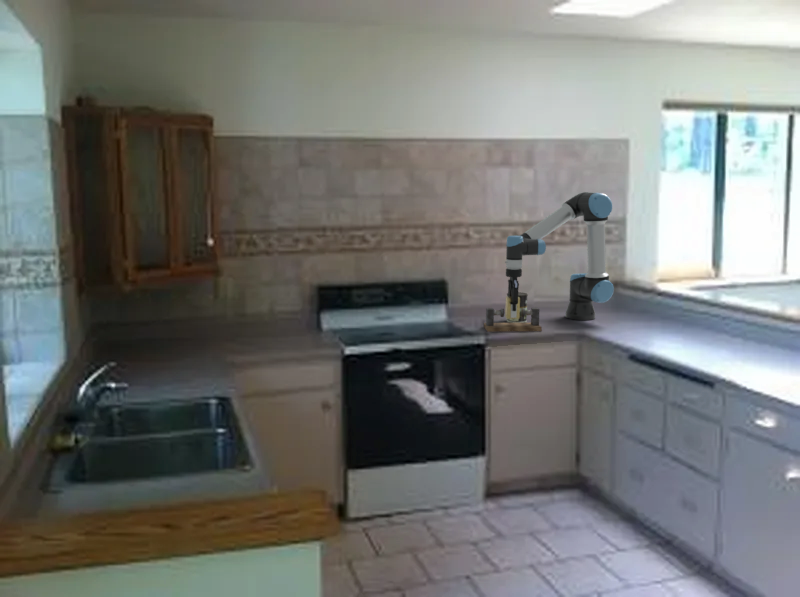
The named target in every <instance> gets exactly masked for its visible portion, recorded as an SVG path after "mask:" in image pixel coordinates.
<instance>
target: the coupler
mask: <svg viewBox="0 0 800 597" xmlns="http://www.w3.org/2000/svg"><path fill="white" fill-rule="evenodd" d="M510 303H512V298H511V297H507V296H505V309H504V317H505V319H506V320H507V319H519V316H520V298H519V297H518V304H517V315H516V318H511V304H510Z"/></svg>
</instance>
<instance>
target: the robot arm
mask: <svg viewBox="0 0 800 597" xmlns="http://www.w3.org/2000/svg"><path fill="white" fill-rule="evenodd" d="M612 211H613V202H612V199H611V198H610V197H609V195H607V194H605V193H600V192H585V191H584V192H580V193H578V194H575V195H574V196H572V197H571V198H569V199H567V200H566V201H565V202H563V203H562V204H561V207H560V208H558V209H557V210H556V211H554V212H552V213H551V214H549V215H548V216H547V217H545V218H544V219H542V220H540V221H539V222H538V223H536V224H535V225H533V226H531V227H530V228H529V229H528V230H526V231H525V232H523V233H521V234H520V235H508V236H507V239H506V251H505V252H506V254H505V255H506V260H505V261H504V263H505V264H506V265H505V267H506V269H505V277H508V278H509V279H508V280H507V282H508V287H507V289H508V290H507V293H508V297H511V298H512V303H510V304H511V318H516V315H517V304H518V292H519V286H520V284H519V280H518V278H520V277H522V272H523V270H522V267H523V256H524V257H525V256H541V255H544V254H545V252H546V251H547V250H546V249H547V245H546V242H545V240H544V239H543V238H545V237H546V236H548V235H550V234H551V233H552V232H554V231H555V230H557V229H559V228H561V226H563V225H564V224H565V223H567V222H568V221H574V220H575V219H577V218H579V217H583V222H584V223H585V224H586V241H587V242H586V243H587V246H586V247H587V249H586V250H587V272H586V273H572V274H571V275H570V279H569V302H568V305H567V308H566V311H565V316H564V317H565V318H567V319H568V320H569V319H570V320H577V321H589V320H591V321H592V320H595V319H596V311H595V307H594V304H593V303H599V304H604V303H607V302H608V301H609V300H610V299H611V298H612V297H613V295H614V290H615V287H614V284H613V283H612V282H611V281H610V274H609V273H608V272H607V270H606V269H607V267H606V265H607V264H606V225H605V224H606V223H607V222H608V221H609V216H610V215H611V213H612Z"/></svg>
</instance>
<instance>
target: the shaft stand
mask: <svg viewBox="0 0 800 597" xmlns="http://www.w3.org/2000/svg"><path fill="white" fill-rule="evenodd" d="M525 315H527V316H530V322H525V323H510V322H494V321H495V320H494V318H495V317H494V316H500V317H501V318H504V317H505V309H504V308H500V309H499V310H498V309H497V310H496V309H494V308H493V307H486V308H485V322H483V328H484V330H487V331H486V332H492V333H494V332H501V333H502V332H542V328H543V327H542V325H540V308H539V307H531V309H527V310H525V308H522V309H521V316H522V317H525Z"/></svg>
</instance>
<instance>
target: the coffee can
mask: <svg viewBox="0 0 800 597" xmlns="http://www.w3.org/2000/svg"><path fill="white" fill-rule="evenodd" d="M528 295H529V294H528V293H526V292H519V291H518V297H519V298H520V316H519V319H507V318H506V323H528V315H525V317H522V316H521V309H522V308H525V310H528ZM506 297H508V292H507V293H506Z"/></svg>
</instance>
